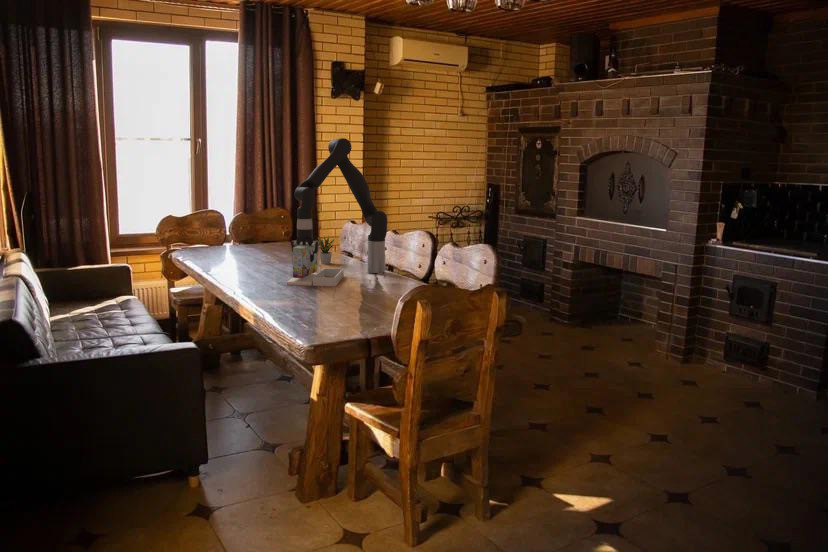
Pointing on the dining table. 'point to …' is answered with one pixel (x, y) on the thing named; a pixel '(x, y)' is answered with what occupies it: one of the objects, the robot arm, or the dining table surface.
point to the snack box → (303, 261)
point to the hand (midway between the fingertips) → (305, 261)
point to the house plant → (325, 251)
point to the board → (302, 280)
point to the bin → (324, 281)
